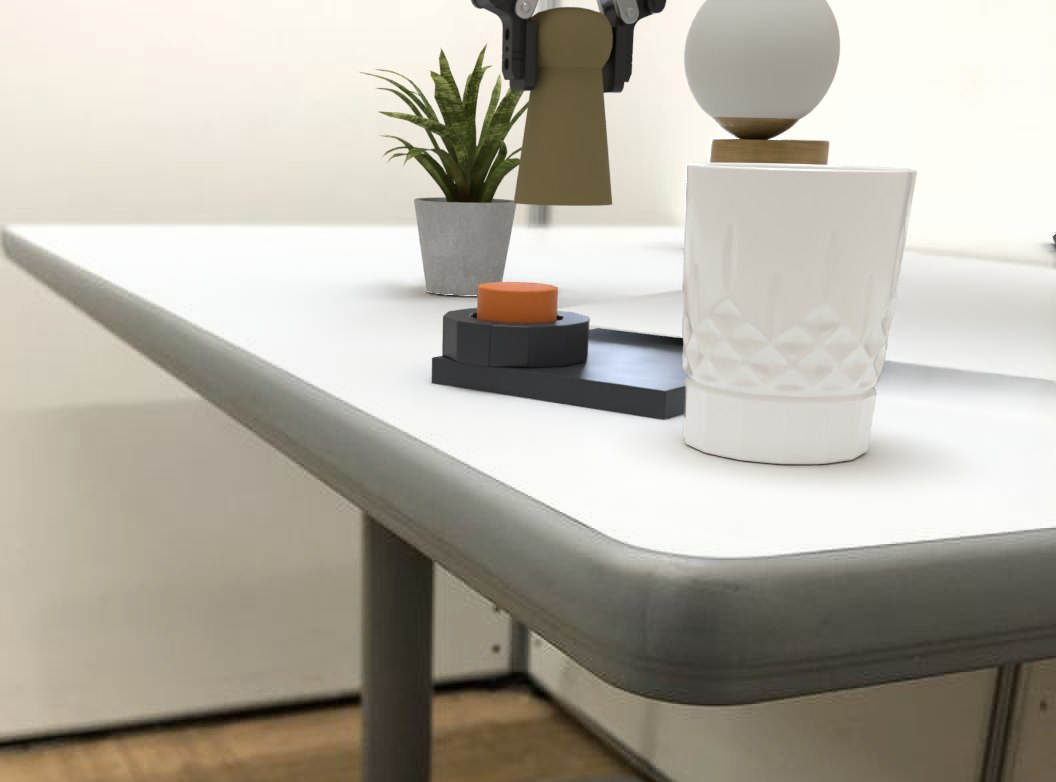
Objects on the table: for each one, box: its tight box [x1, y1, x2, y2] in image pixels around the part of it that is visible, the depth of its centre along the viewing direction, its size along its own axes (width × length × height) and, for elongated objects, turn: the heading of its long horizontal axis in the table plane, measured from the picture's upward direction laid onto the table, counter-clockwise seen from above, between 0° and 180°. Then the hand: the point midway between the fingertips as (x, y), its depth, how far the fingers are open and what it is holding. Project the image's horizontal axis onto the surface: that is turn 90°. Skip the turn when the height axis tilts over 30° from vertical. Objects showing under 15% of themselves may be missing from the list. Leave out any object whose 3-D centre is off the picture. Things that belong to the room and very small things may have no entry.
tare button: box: [476, 281, 559, 323], centre depth 63 cm, size 4×4×2 cm
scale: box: [431, 307, 687, 421], centre depth 65 cm, size 14×13×3 cm
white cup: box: [681, 162, 918, 465], centre depth 51 cm, size 8×8×10 cm
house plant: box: [355, 42, 529, 295], centre depth 97 cm, size 14×14×16 cm
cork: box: [513, 6, 613, 207], centre depth 84 cm, size 6×6×11 cm
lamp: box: [683, 0, 841, 165], centre depth 133 cm, size 15×14×25 cm
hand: (566, 90), depth 84 cm, fingers closed on cork, 5 cm apart
